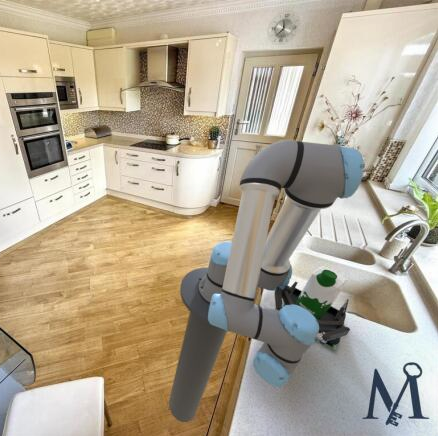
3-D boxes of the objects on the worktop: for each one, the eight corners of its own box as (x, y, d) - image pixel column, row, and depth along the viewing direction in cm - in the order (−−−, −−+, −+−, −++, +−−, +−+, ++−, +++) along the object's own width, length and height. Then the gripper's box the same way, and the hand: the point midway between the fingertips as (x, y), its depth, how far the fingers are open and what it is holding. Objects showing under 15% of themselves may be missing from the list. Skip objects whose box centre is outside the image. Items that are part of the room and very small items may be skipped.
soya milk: (289, 308, 86) (312, 268, 77) (301, 298, 91) (324, 259, 81) (314, 326, 80) (342, 285, 70) (326, 315, 85) (353, 274, 75)
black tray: (276, 317, 87) (287, 296, 81) (289, 294, 97) (299, 274, 91) (333, 351, 76) (350, 330, 71) (340, 321, 87) (356, 301, 81)
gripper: (245, 313, 73) (274, 282, 85) (339, 381, 57) (357, 331, 70) (252, 296, 69) (282, 267, 82) (354, 364, 53) (371, 314, 66)
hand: (316, 296), depth 76 cm, fingers open, 13 cm apart
